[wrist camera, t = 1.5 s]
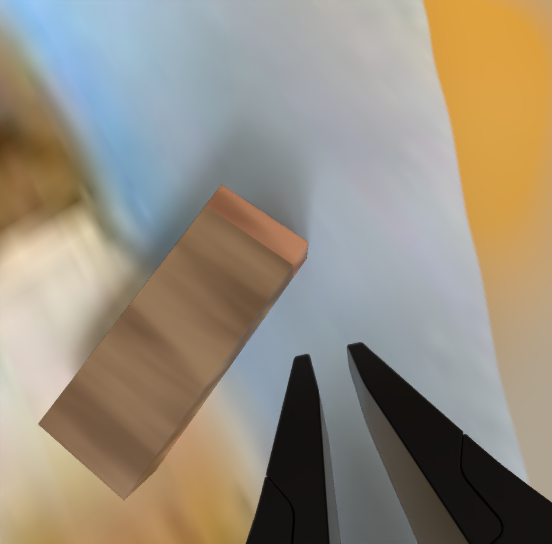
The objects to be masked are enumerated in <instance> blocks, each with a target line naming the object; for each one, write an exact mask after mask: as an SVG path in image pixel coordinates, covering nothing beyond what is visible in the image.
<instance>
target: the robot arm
mask: <svg viewBox="0 0 552 544" xmlns="http://www.w3.org/2000/svg"><path fill="white" fill-rule="evenodd" d="M347 354H348V362H349V368H350V372H351V376H352V379H353V382H354V386H355V389H356V392H357V395H358V399H359V402H360V405H361V409H362V412H363V415H364V418H365V421H366V424H367V427H368V429H369V432H370V434H371V436H372V439H373V441H374V443H375V446H376V448H377V450H378V452H379V455H380V457H381V459H382V462H383V464H384V466H385V468H386V471H387V473H388V475H389V478H390V480H391V482H392V485H393V487H394V489H395V491H396V494H397V496H398V498H399V501H400V503H401V505H402V507H403V510H404V512H405V514H406V517H407V519H408V521H409V523H410V526H411V528H412V530H413V533H414V535H415V537H416V540H417V542H418V544H552V502H551V501H549V500H548V499H546V498H545V497H544V496H542V495H541V494H540V493H538V492H537V491H536V490H534V489H533V488H532V487H530V486H529V485H527V484H526V483H525V482H524V481H522V480H521V479H520V478H518V477H517V476H516V475H514V474H513V473H512V472H511V471H509V470H508V469H507V468H505V467H504V466H503V465H501V464H500V463H499V462H498V461H497V460H495V459H494V458H493V457H492V456H491V455H490V454H488V453H487V452H486V451H485V450H484V449H482V448H481V447H480V446H479V445H478V444H477V443H476V442H474V441H473V440H472V439H471V438H470V437H469V436H468V435H466V434H464V435H463V431H462V430H461V429H460V428H458V427H457V426H456V425H455V424H454V423H453V422H452V421H450V420H449V419H448V418H447V417H446V416H445V415H444V414H443V413H441V412H440V411H439V410H438V409H437V408H436V407H435V406H434V405H432V404H431V403H430V402H429V401H428V400H427V399H426V398H424V397H423V396H422V395H421V394H420V393H419V392H418V391H417V390H415V389H414V388H413V387H412V386H411V385H410V384H409V383H407V382H406V381H405V380H404V379H403V378H402V377H401V376H400V375H398V374H397V373H396V372H395V371H394V370H393V369H392V368H391V367H389V366H388V365H387V364H386V363H385V362H384V361H383V360H381V359H380V358H379V357H378V356H377V355H376V354H375V353H374V352H372V351H371V350H370V349H369V348H368V347H367V346H366V345H365V344H363V343H361V342H358V343H353V344H349V345H348V346H347ZM266 476H267V477H265V479H264V484H263V488H262V492H261V496H260V499H259V503H258V506H257V510H256V514H255V517H254V520H253V523H252V526H251V529H250V532H249V535H248V538H247V541H246V544H341V540H340V532H339V523H338V515H337V507H336V498H335V490H334V481H333V473H332V464H331V456H330V447H329V440H328V433H327V428H326V423H325V418H324V414H323V409H322V404H321V399H320V394H319V389H318V385H317V381H316V377H315V373H314V369H313V366H312V362H311V358H310V355H309V354H304V355H299V356H296V357H295V358H294V361H293V365H292V369H291V374H290V378H289V382H288V386H287V390H286V394H285V398H284V402H283V406H282V410H281V415H280V419H279V423H278V427H277V431H276V435H275V439H274V443H273V447H272V451H271V456H270V460H269V464H268V468H267V472H266Z"/></svg>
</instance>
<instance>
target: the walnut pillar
mask: <svg viewBox="0 0 552 544" xmlns="http://www.w3.org/2000/svg"><path fill="white" fill-rule="evenodd" d="M307 251H308V242H307V241H305V240H304V239H302V238H301V237H299V236H298V235H296V234H295V233H293V232H292V231H290V230H289V229H287V228H286V227H284V226H283V225H281V224H280V223H278V222H277V221H275V220H274V219H272V218H271V217H269V216H268V215H266V214H265V213H263V212H262V211H260V210H259V209H257V208H256V207H254V206H253V205H251V204H250V203H248V202H247V201H245V200H244V199H242V198H241V197H239V196H238V195H236V194H235V193H233V192H232V191H230V190H229V189H227V188H226V187H224V186H223V185H221V186H220V187H219V189H218V190H217V191H216V193H215V194H214V195H213V197H212V198H211V199H210V200H209V202H208V203H207V204H206V206H205V207H204V208H203V210H202V211H201V212H200V214H199V215H198V216H197V217H196V219H195V220H194V221H193V223H192V224H191V225H190V227H189V228H188V229H187V230H186V232H185V233H184V234H183V236H182V237H181V238H180V240H179V241H178V242H177V243H176V245H175V246H174V247H173V249H172V250H171V251H170V253H169V254H168V255H167V257H166V258H165V259H164V260H163V262H162V263H161V264H160V266H159V267H158V268H157V270H156V271H155V272H154V273H153V275H152V276H151V277H150V279H149V280H148V281H147V283H146V284H145V285H144V287H143V288H142V289H141V290H140V292H139V293H138V294H137V296H136V297H135V298H134V300H133V301H132V302H131V303H130V305H129V306H128V307H127V309H126V310H125V311H124V313H123V314H122V315H121V316H120V318H119V319H118V320H117V322H116V323H115V324H114V326H113V327H112V328H111V330H110V331H109V332H108V333H107V335H106V336H105V337H104V339H103V340H102V341H101V343H100V344H99V345H98V346H97V348H96V349H95V350H94V352H93V353H92V354H91V356H90V357H89V358H88V359H87V361H86V362H85V363H84V365H83V366H82V367H81V369H80V370H79V371H78V373H77V374H76V375H75V376H74V378H73V379H72V380H71V382H70V383H69V384H68V386H67V387H66V388H65V389H64V391H63V392H62V393H61V395H60V396H59V397H58V399H57V400H56V401H55V403H54V404H53V405H52V406H51V408H50V409H49V410H48V412H47V413H46V414H45V416H44V417H43V418H42V419H41V421H40V422H39V423H38V424H39V425H40V426H41V427H42V428H43V429H44V430H45V431H46V432H48V433H49V434H50V435H51V436H52V437H53V438H54V439H55V440H57V441H58V442H59V443H60V444H61V445H62V446H63V447H64V448H66V449H67V450H68V451H69V452H70V453H71V454H72V455H73V456H75V457H76V458H77V459H78V460H79V461H80V462H81V463H82V464H84V465H85V466H86V467H87V468H88V469H89V470H90V471H91V472H93V473H94V474H95V475H96V476H97V477H98V478H99V479H100V480H102V481H103V482H104V483H105V484H106V485H107V486H108V487H109V488H111V489H112V490H113V491H114V492H115V493H116V494H117V495H118V496H120V497H121V498H122V499H123V500H125V499H126V498H127V497H128V496H129V495H130V494H131V493H132V492H133V491H134V490H135V489H137V488H138V487H139V486H140V485H141V484H142V483H143V482H144V481H145V480H146V479H147V478H148V477H149V476H150V475H152V474H153V473H154V472H155V471H156V469H157V468H158V467H159V465H160V464H161V462H162V461H163V460H164V458H165V457H166V455H167V454H168V453H169V451H170V450H171V448H172V447H173V445H174V444H175V443H176V441H177V440H178V438H179V437H180V436H181V434H182V433H183V431H184V430H185V429H186V427H187V426H188V424H189V423H190V422H191V420H192V419H193V417H194V416H195V415H196V413H197V412H198V410H199V409H200V408H201V406H202V405H203V403H204V402H205V400H206V399H207V398H208V396H209V395H210V393H211V392H212V391H213V389H214V388H215V386H216V385H217V384H218V382H219V381H220V379H221V378H222V377H223V375H224V374H225V372H226V371H227V370H228V368H229V367H230V365H231V364H232V363H233V361H234V360H235V358H236V357H237V356H238V354H239V353H240V351H241V350H242V348H243V347H244V346H245V344H246V343H247V341H248V340H249V339H250V337H251V336H252V334H253V333H254V332H255V330H256V329H257V327H258V326H259V325H260V323H261V322H262V320H263V319H264V318H265V316H266V315H267V313H268V312H269V311H270V309H271V308H272V306H273V305H274V304H275V302H276V301H277V299H278V298H279V296H280V295H281V294H282V292H283V291H284V289H285V288H286V287H287V285H288V284H289V282H290V281H291V280H292V278H293V277H294V275H295V274H296V273H297V271H298V270H299V268H300V267H301V266H302V264H303V263H304V261H305V260H306V259H307Z"/></svg>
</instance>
